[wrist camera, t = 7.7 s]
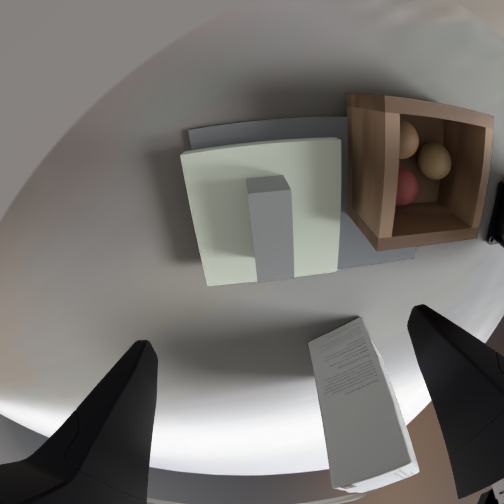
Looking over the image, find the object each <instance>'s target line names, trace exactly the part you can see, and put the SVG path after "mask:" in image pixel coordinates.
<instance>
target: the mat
mask: <svg viewBox="0 0 504 504" xmlns="http://www.w3.org/2000/svg"><path fill="white" fill-rule="evenodd" d="M188 133H189V139H190V145H191V150H197V149H204V148H211V147H218V146H225V145H233V144H242V143H251V142H261V141H272V140H285V139H302V138H327V137H336V138H338V139H340V140H341V214H340V236H339V252H338V266H337V269H343V268H351V267H358V266H365V265H372V264H379V263H386V262H393V261H400V260H407V259H413V258H414V256H415V251H416V247H409V248H401V249H393V250H386V251H378V252H377V251H376V250H375V249H374V247H373V246H372V245H371V243H370V242H369V241H368V240H367V238H366V237H365V236H364V234H363V233H362V232H361V231H360V229H359V228H358V227H357V226H356V224H355V223H354V222H353V221H352V219H351V218H350V217H349V216H348V214H347V195H348V130H347V117H300V118H282V119H268V120H257V121H247V122H238V123H230V124H222V125H215V126H209V127H202V128H196V129H190V130H188Z"/></svg>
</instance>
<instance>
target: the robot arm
mask: <svg viewBox="0 0 504 504" xmlns="http://www.w3.org/2000/svg"><path fill="white" fill-rule="evenodd" d="M486 241H487V243H488V244H489V245H492V244H498V243H499V244H500V245H501V246H502V247H504V181H501V182H500V183H499V186H498V192H497V197H496V202H495V207H494V212H493V216H492V220H491V225H490V229H489V232H488V236H487V240H486ZM407 327H408V331H409V334H410V338H411V341H412V344H413V348H414V351H415V355H416V358H417V361H418V364H419V367H420V370H421V372H422V375H423V378H424V380H425V383H426V386H427V388H428V391H429V394H430V397H431V399H432V402H433V405H434V408H435V411H436V414H437V417H438V420H439V424H440V426H441V430H442V433H443V437H444V440H445V444H446V447H447V451H448V455H449V459H450V463H451V467H452V471H453V475H454V480H455V484H456V490H457V495H458V499H461V498H464V497H466V496H468V495H471V494H473V493H475V492H478V491H480V490H482V489H484V488H486V487H488V486H490V485H492V487H491V488H490V489H488V490H487V491H486V492H484V493H483V494H481V497H480V499H479V502H478V504H504V356H502V355H501V354H499V353H498V352H495V350H493V349H492V348H490V347H489V346H488V345H486V344H485V343H483V342H482V341H480V340H479V339H477V338H476V337H474V336H473V335H471V334H470V333H468V332H467V331H465V330H464V329H462V328H461V327H459V326H457V325H456V324H454V323H453V322H451V321H450V320H448V319H447V318H445V317H443V316H442V315H440V314H439V313H437V312H436V311H434V310H432V309H431V308H429V307H428V306H426V305H424V304H421V305H417V306H414V307H413V309H412V311H411V314H410V317H409V320H408V324H407ZM157 371H158V358H157V355H156V353H155V351H154V349H153V347H152V345H151V343H150V342H149V341H148V340H137V341H136V342H135V343H134V344H133V345H132V346H131V347H130V348H129V350H128V351H127V352H126V353H125V354H124V355H123V356H122V357H121V358H120V360H119V361H118V362H117V363H116V364H115V365H114V366H113V367H112V369H111V370H110V371H109V372H108V373H107V374H106V375H105V377H104V378H103V379H102V380H101V381H100V382H99V383H98V384H97V386H96V387H95V388H94V389H93V390H92V391H91V393H90V394H89V395H88V396H87V397H86V398H85V399H84V401H83V402H82V403H81V404H80V405H79V406H78V408H77V409H76V410H75V411H74V412H73V413H72V414H71V416H70V417H69V418H68V419H67V420H66V421H65V422H64V424H63V425H62V426H61V427H60V428H59V429H58V430H57V431H56V432H55V433H54V434H53V435H52V436H51V437H50V438H49V439H48V440H47V441H46V442H45V443H44V444H43V445H42V446H41V447H39V449H38V450H37V451H35V452H34V454H32V455H31V456H29V457H28V458H26V459H24V460H21V461H18V462H12V463H7V464H1V465H0V504H147V502H146V501H147V486H148V473H149V461H150V451H151V441H152V432H153V424H154V416H155V408H156V400H157Z"/></svg>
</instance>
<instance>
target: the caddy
mask: <svg viewBox="0 0 504 504" xmlns="http://www.w3.org/2000/svg"><path fill="white" fill-rule="evenodd" d="M346 106H347V130H348V195H347V214H348V216H349V217H350V218H351V219H352V221H353V222H354V223H355V224H356V226H357V227H358V228H359V229H360V231H361V232H362V233H363V234H364V236H365V237H366V238H367V240H368V241H369V242H370V243H371V245H372V246H373V247H374V249H375V250H376V251H377V252H378V251H386V250H393V249H401V248H409V247H416V246H424V245H431V244H438V243H445V242H453V241H460V240H467V239H474V238H476V237H477V233H478V230H479V225H480V221H481V217H482V212H483V208H484V203H485V197H486V192H487V186H488V179H489V172H490V164H491V155H492V144H493V127H494V116H491V115H488V114H484V113H481V112H477V111H473V110H469V109H465V108H460V107H456V106H451V105H446V104H441V103H436V102H430V101H424V100H418V99H411V98H404V97H395V96H386V95H369V94H346Z"/></svg>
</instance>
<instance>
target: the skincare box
mask: <svg viewBox="0 0 504 504" xmlns="http://www.w3.org/2000/svg"><path fill="white" fill-rule="evenodd" d="M308 346H309V351H310V356H311V361H312V366H313V371H314V377H315V382H316V388H317V393H318V399H319V405H320V410H321V416H322V422H323V428H324V435H325V441H326V448H327V454H328V461H329V468H330V475H331V482H332V488H334V489H339V490H345V491H347V492H361V493H363V492H367V491H370V490H373V489H377V488H380V487H383V486H385V485H388V484H391V483H393V482H396V481H399V480H402V479H404V478H407V477H410V476H412V475H414V474H416V473H418V472H419V468H418V464H417V461H416V457H415V454H414V450H413V447H412V444H411V440H410V437H409V434H408V431H407V428H406V425H405V422H404V419H403V416H402V413H401V410H400V407H399V404H398V401H397V398H396V395H395V392H394V390H393V387H392V384H391V381H390V379H389V376H388V373H387V370H386V368H385V365H384V362H383V360H382V357H381V354H380V353H379V352H378V350H377V348H376V347H375V345H374V343H373V341H372V339H371V337H370V335H369V333H368V331H367V328H366V326H365V323H364V321H363V319H362V317H359V318H357V319H355V320H353V321H351V322H349V323H347V324H345V325H343V326H341V327H339V328H337V329H335V330H333V331H331V332H329V333H327V334H324V335H322V336H320V337H318V338H316V339H314V340H312V341H310V342H308Z"/></svg>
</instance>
